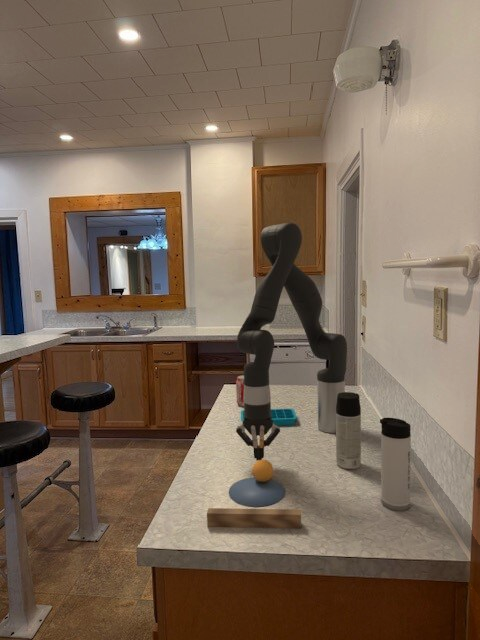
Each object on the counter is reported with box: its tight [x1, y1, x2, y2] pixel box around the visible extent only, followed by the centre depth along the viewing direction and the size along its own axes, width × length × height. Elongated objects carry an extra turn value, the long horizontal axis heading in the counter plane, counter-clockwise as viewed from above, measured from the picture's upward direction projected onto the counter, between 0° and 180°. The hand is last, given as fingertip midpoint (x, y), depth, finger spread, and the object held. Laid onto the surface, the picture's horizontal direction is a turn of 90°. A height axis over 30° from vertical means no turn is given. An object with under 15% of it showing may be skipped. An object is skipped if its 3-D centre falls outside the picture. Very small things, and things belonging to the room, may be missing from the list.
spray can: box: [335, 391, 362, 470], centre depth 115 cm, size 7×7×20 cm
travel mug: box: [379, 417, 412, 512], centre depth 94 cm, size 6×7×20 cm
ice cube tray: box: [240, 408, 298, 427], centre depth 153 cm, size 12×20×3 cm, turn 90°
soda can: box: [235, 374, 244, 408], centre depth 174 cm, size 7×7×12 cm
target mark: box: [228, 476, 286, 508], centre depth 103 cm, size 14×14×1 cm
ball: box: [251, 459, 274, 482], centre depth 108 cm, size 6×6×6 cm
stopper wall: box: [206, 507, 302, 529], centre depth 89 cm, size 20×2×3 cm, turn 85°
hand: (259, 459), depth 118 cm, fingers closed
